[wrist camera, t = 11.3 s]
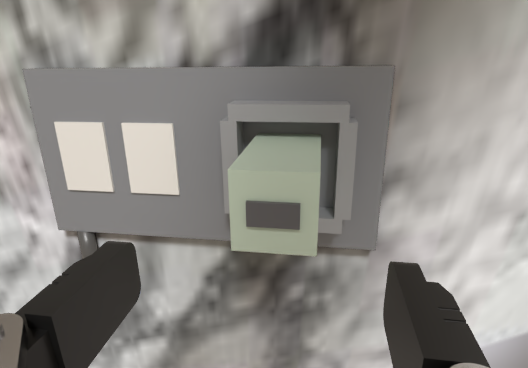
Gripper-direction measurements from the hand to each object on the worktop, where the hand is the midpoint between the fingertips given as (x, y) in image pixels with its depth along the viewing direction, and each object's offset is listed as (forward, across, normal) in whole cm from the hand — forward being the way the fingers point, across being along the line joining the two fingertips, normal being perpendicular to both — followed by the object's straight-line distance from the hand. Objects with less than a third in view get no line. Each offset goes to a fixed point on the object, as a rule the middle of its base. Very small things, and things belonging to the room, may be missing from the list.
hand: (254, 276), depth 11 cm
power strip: (+14, +6, +2) cm, 15 cm away
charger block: (+13, 0, 0) cm, 13 cm away
